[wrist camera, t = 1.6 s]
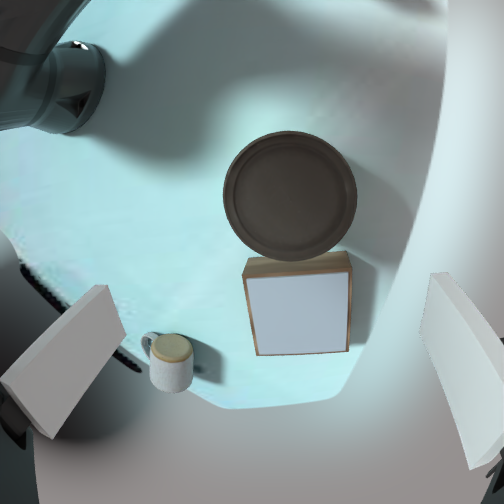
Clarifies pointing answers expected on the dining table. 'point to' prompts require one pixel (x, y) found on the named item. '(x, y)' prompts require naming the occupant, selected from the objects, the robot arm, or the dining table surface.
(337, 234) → the coffee can
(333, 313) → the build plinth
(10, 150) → the dining table surface
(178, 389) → the ceramic mug
